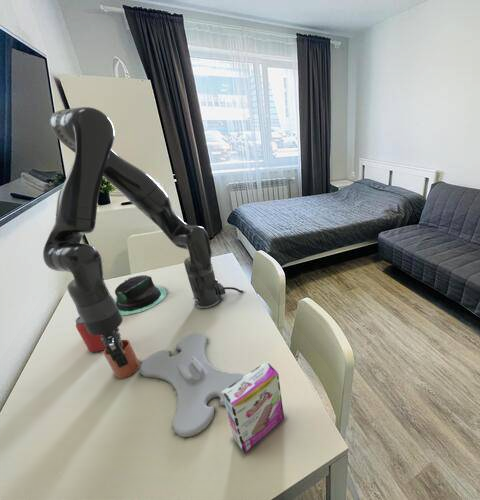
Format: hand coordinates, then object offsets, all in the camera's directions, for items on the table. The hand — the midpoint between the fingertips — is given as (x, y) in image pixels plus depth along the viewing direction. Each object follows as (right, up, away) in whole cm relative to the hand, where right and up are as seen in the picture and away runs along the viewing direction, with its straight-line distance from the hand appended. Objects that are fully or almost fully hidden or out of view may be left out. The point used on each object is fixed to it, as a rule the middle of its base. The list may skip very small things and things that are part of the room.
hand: (122, 358), depth 79 cm
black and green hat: (-20, +11, +35) cm, 41 cm away
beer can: (-16, 0, +11) cm, 19 cm away
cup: (0, -4, +2) cm, 5 cm away
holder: (+21, -5, -1) cm, 22 cm away
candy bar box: (+45, -11, -14) cm, 48 cm away
